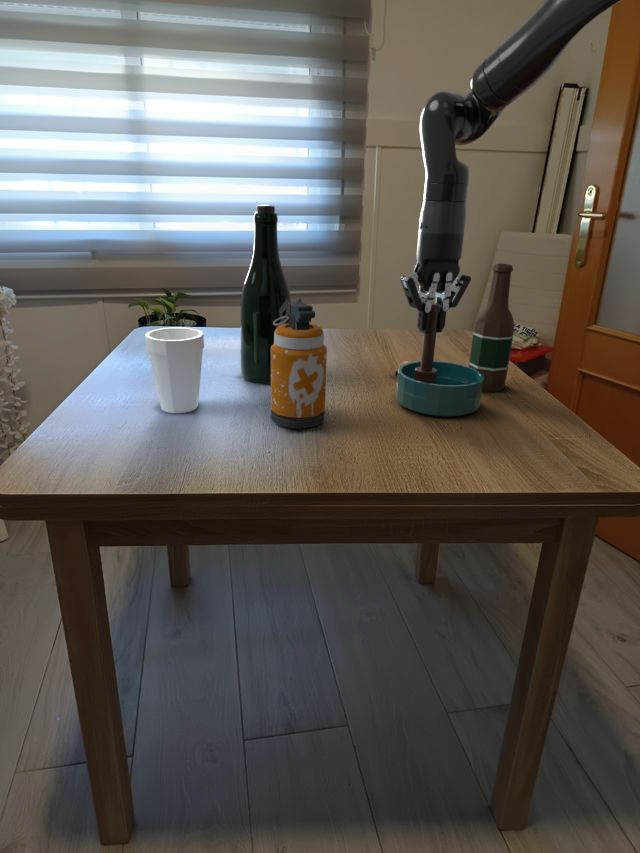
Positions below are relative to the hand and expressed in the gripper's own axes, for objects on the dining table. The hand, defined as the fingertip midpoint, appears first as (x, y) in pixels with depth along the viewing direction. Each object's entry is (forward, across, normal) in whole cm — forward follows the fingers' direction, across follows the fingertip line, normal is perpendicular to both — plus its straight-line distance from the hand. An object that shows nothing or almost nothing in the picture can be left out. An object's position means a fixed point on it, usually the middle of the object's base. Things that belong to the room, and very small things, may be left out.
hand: (430, 331), depth 103 cm
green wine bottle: (+13, -24, +22) cm, 35 cm away
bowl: (+13, +1, -3) cm, 13 cm away
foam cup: (+13, -43, +11) cm, 47 cm away
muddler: (+11, 0, 0) cm, 11 cm away
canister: (+13, -26, -1) cm, 29 cm away
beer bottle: (+13, +17, +3) cm, 22 cm away
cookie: (+13, +7, +12) cm, 19 cm away
